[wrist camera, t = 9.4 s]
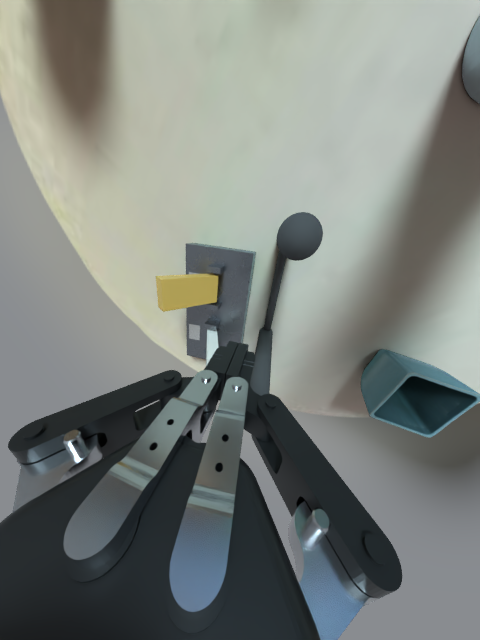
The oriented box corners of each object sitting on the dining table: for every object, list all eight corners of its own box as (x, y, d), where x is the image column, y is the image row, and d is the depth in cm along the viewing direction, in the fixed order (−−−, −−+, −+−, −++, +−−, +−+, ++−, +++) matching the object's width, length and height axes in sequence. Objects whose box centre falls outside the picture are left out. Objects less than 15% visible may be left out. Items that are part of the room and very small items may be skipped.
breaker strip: (255, 251, 28) (251, 254, 23) (240, 356, 36) (235, 373, 32) (194, 243, 29) (178, 243, 24) (193, 346, 37) (182, 361, 33)
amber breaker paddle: (218, 275, 26) (160, 279, 20) (216, 302, 27) (163, 311, 22) (212, 273, 27) (155, 276, 21) (210, 298, 28) (158, 307, 23)
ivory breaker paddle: (216, 328, 30) (219, 359, 23) (215, 348, 32) (217, 382, 25) (207, 328, 30) (206, 359, 23) (206, 348, 32) (205, 382, 25)
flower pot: (346, 374, 33) (368, 417, 25) (374, 335, 29) (411, 371, 21) (393, 390, 33) (430, 439, 25) (428, 352, 29) (486, 397, 21)
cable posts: (296, 229, 25) (328, 215, 9) (271, 339, 33) (264, 435, 17) (279, 227, 26) (281, 209, 10) (258, 337, 34) (240, 428, 18)
